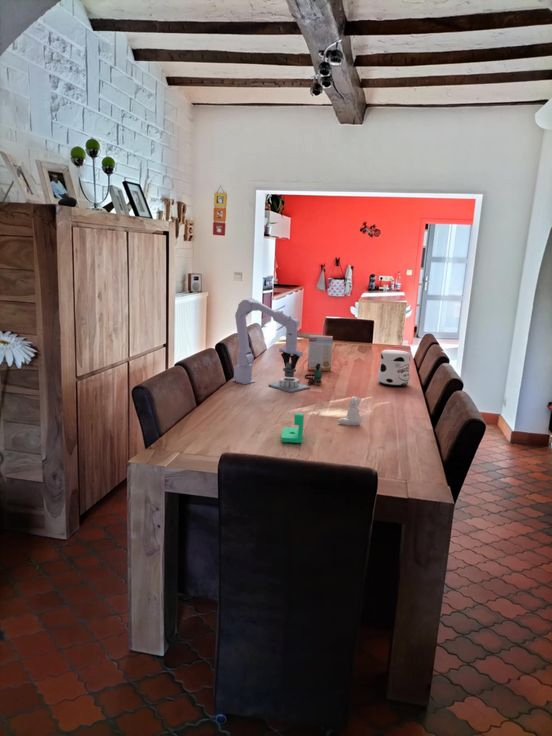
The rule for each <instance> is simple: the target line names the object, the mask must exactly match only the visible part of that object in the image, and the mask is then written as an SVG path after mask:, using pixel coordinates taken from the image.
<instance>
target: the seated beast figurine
mask: <svg viewBox="0 0 552 736" xmlns="http://www.w3.org/2000/svg"><path fill="white" fill-rule="evenodd" d="M361 401H362V398H361V397H360V398H359V397H357V396H352V397H351V399H350V400H349V403H348V406H349V407H348V409H347V413H346V416H345V417H341V418H339V419H338V420H337V423H340V424H339V425H341V424H346V425H345V426H351V425H354V426H353V427H355V426H356V427H357V426H360V425H361V423H362V420H363V419H362V416H361V414H360V410H359V407H358V406H359V405H360V403H361Z"/></svg>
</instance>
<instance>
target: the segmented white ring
mask: <svg viewBox="0 0 552 736" xmlns="http://www.w3.org/2000/svg"><path fill="white" fill-rule="evenodd" d="M278 382H279V385H280V386H281V387H285V388H296V387H298V386H299V384H300V379H299V378H296V377H285V376H284V377H280V378H279V380H278Z"/></svg>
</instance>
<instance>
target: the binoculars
mask: <svg viewBox="0 0 552 736" xmlns="http://www.w3.org/2000/svg"><path fill="white" fill-rule="evenodd" d="M316 365H317V366H315V367H316V370H315V371H314V374H313V373H312V374H311V373H310V374H305V375H304V379H305V380H308V381H307V385H311V384H313V385H314V384H315V385H317V386H321V384H322V383H323V382H322V377H323V375H324V374H323V372H324V371H321V368H320V364H316ZM322 374H323V375H322Z"/></svg>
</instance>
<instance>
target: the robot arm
mask: <svg viewBox="0 0 552 736" xmlns="http://www.w3.org/2000/svg"><path fill="white" fill-rule="evenodd" d="M255 311H256V312H257V311H259V312H262V313H264V314H265V315H267V316H269V317H272V320H273V321H275V322H276V323H277V324H279V325H281V326H284V328H285V329H286V332H285V333H286V334H285V347H284V348H283V347H279V349H278V352H279V353H281V355H280V356H281V358H282V360H283V364H284V368H286V363H287V362H291V369H296V366H297V364H298V361H299V359H300V358H301V357H303V355H304V353H303V351H300V350H297V348H298V328H299V326H300V321H299V320H298V319H297V318H296V317H292V315H289V314H286V313H284V310H281V311H280V310H276V311H275V310H274V309H272V308H271V307H269V306H267V305H265V304H264V303H262V302H261V301H259V300H257V299H256V300H255V298H252V297H250V298H247V299H243V300H241V301H240V302H239V303H238V306H237V308H236V312H235V325H236V333H237V339H238V351H237V358H236V361H237V364H236V365H235V366H234V369H233V379H232V381H233V382H235V381H236V383H239V384H243V385H247V384H253V383H255V382H256V381H255V380H252V379H253V378H252V377H253V373H252V372H253V364H252V363H253V362H254V360H255V356H254V354H253V353H252V348H251V347H250V342H249V334H248V325H247V319H246V318H247V317H248V316H249V314H250V313H252V312H255Z"/></svg>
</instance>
